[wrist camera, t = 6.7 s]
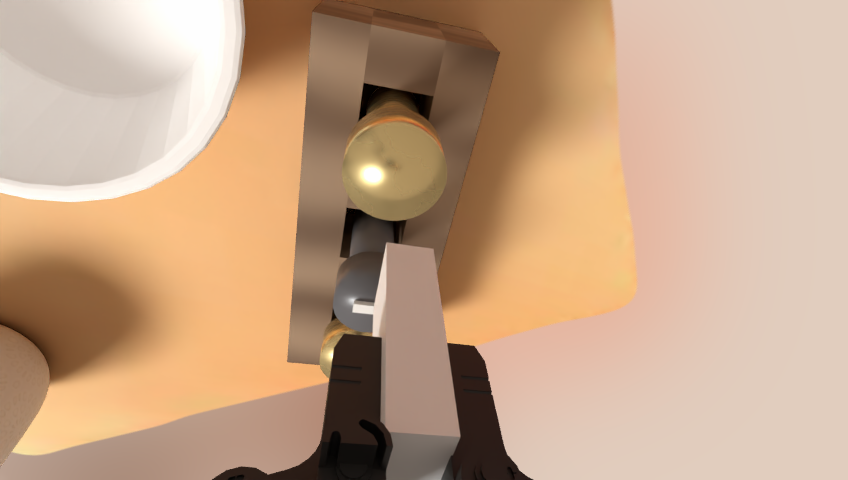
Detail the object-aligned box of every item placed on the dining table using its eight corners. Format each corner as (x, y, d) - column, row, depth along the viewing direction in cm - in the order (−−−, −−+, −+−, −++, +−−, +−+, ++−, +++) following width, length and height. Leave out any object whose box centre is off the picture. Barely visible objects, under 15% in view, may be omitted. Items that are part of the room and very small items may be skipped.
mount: (325, -3, 28) (312, 11, 23) (480, 32, 30) (499, 52, 25) (298, 311, 42) (287, 362, 37) (406, 322, 44) (409, 372, 39)
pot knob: (349, 189, 32) (336, 276, 24) (406, 198, 32) (412, 286, 24) (342, 237, 34) (328, 332, 26) (396, 244, 35) (399, 339, 26)
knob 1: (335, 252, 38) (322, 334, 30) (392, 260, 39) (394, 341, 31) (330, 296, 41) (316, 382, 33) (383, 302, 42) (383, 388, 34)
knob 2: (359, 63, 27) (348, 115, 19) (438, 79, 28) (458, 135, 20) (349, 139, 30) (336, 213, 22) (422, 151, 31) (434, 227, 23)
